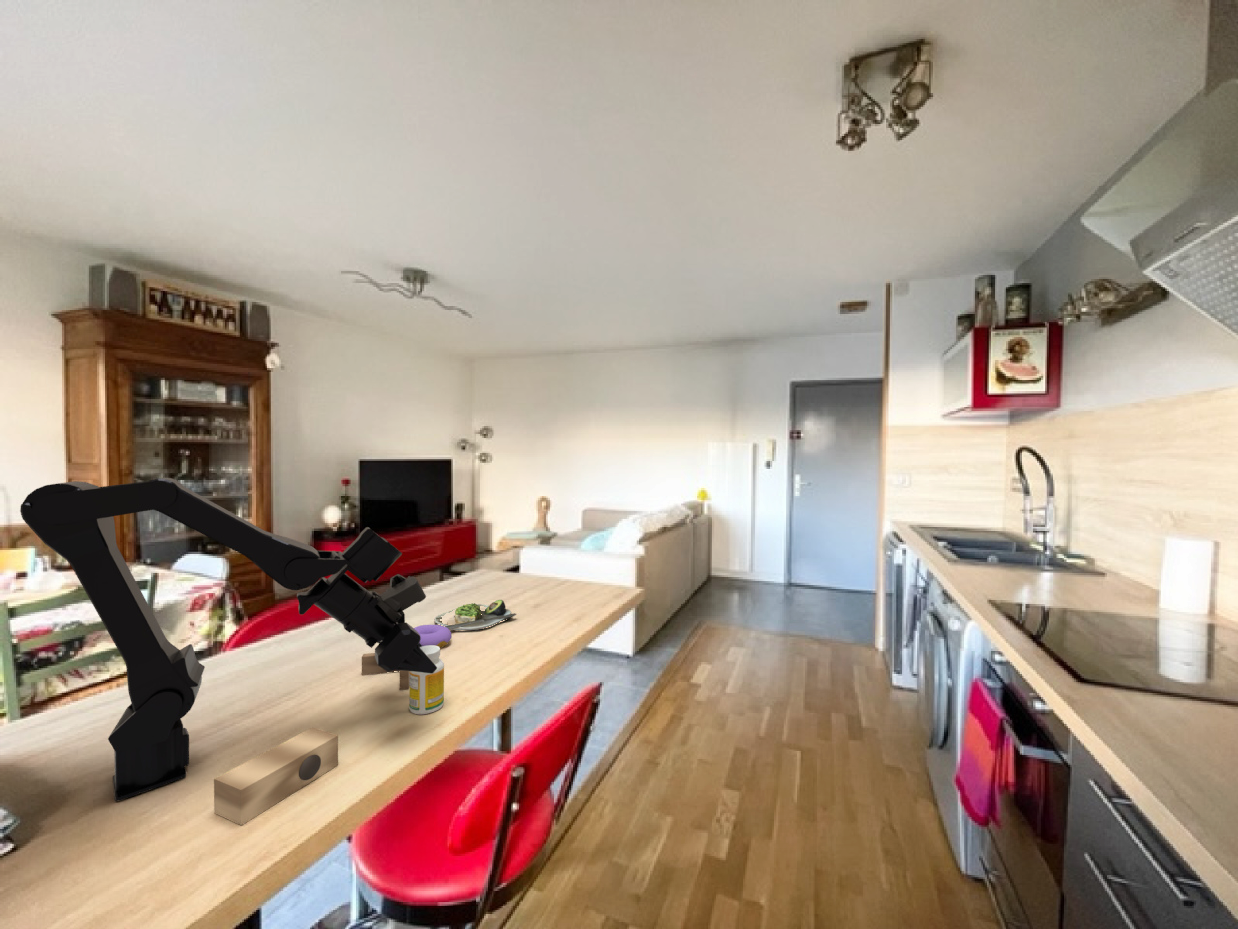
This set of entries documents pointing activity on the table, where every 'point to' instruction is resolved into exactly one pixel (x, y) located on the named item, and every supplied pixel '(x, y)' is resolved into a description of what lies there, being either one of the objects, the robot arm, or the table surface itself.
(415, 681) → the supplement bottle
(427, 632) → the donut
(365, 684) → the table surface
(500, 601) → the salad plate
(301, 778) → the beam
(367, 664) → the v block
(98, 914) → the table surface
